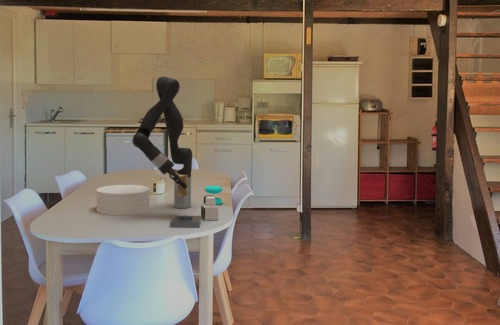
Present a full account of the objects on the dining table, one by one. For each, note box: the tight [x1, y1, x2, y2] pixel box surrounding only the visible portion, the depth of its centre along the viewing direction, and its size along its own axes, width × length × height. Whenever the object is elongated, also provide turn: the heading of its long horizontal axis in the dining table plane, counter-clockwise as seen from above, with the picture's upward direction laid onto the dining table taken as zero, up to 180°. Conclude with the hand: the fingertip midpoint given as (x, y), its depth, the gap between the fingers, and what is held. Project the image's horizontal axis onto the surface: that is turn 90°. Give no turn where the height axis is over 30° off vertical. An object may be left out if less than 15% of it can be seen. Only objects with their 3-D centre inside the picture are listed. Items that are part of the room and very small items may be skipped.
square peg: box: [178, 175, 188, 196], centre depth 287 cm, size 5×5×10 cm
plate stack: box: [96, 184, 151, 216], centre depth 303 cm, size 28×28×12 cm
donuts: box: [204, 185, 223, 206], centre depth 323 cm, size 10×10×10 cm
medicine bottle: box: [200, 194, 219, 222], centre depth 284 cm, size 7×7×12 cm
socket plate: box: [169, 215, 202, 228], centre depth 273 cm, size 14×14×2 cm
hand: (186, 186), depth 287 cm, fingers closed on square peg, 4 cm apart
